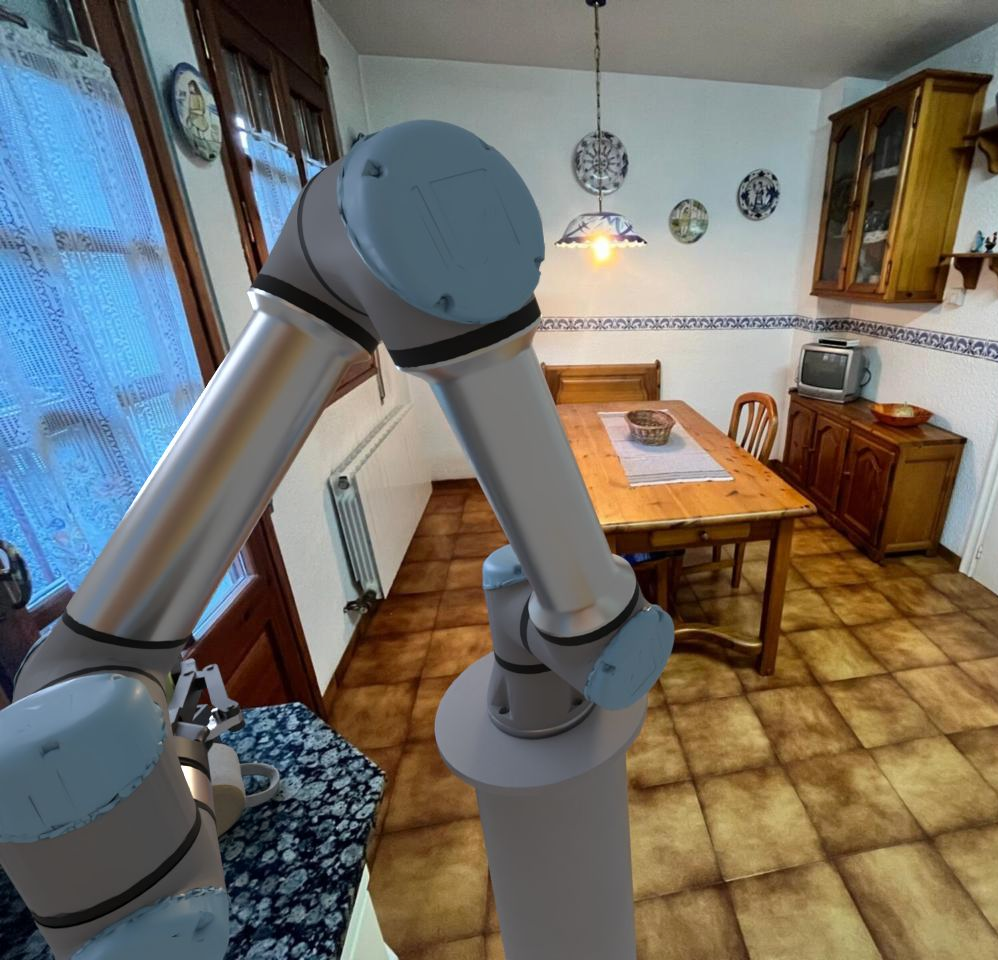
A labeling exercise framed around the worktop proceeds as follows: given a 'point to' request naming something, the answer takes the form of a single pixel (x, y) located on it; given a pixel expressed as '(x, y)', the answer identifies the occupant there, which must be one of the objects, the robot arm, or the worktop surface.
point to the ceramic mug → (235, 785)
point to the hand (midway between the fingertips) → (148, 665)
